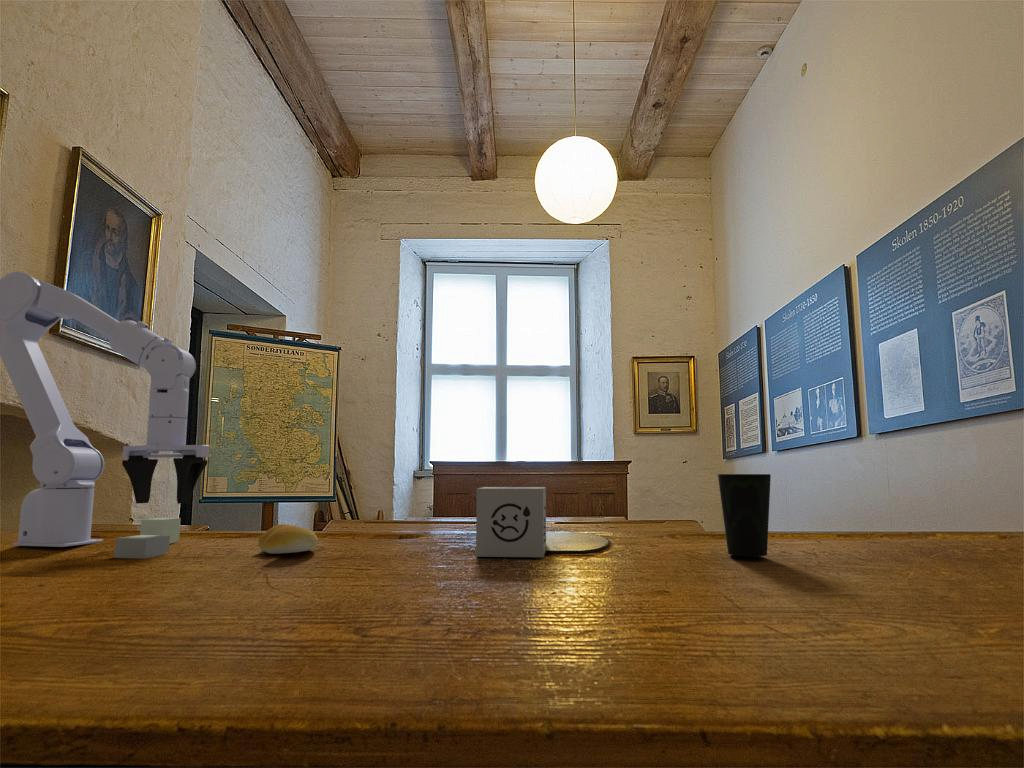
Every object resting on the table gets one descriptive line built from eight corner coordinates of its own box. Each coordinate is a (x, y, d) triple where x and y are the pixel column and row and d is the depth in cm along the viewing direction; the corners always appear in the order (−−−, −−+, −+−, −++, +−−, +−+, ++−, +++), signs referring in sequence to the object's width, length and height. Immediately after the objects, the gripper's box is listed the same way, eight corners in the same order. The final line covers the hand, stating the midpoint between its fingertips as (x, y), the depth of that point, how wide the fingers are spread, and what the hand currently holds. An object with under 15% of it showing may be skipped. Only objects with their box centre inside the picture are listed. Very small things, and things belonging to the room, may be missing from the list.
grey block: (114, 559, 99) (115, 537, 99) (139, 555, 103) (140, 534, 104) (144, 560, 98) (146, 538, 98) (168, 556, 102) (169, 535, 103)
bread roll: (273, 555, 97) (272, 527, 98) (252, 552, 104) (252, 526, 105) (327, 549, 102) (327, 522, 103) (304, 546, 109) (304, 521, 110)
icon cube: (546, 549, 110) (545, 487, 111) (543, 557, 100) (542, 488, 101) (484, 549, 111) (485, 487, 112) (476, 556, 101) (476, 488, 102)
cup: (773, 552, 105) (769, 474, 107) (775, 558, 98) (771, 474, 100) (721, 550, 108) (718, 474, 109) (719, 556, 100) (716, 474, 102)
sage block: (138, 551, 106) (141, 519, 107) (157, 549, 110) (159, 517, 111) (161, 552, 106) (163, 519, 106) (178, 549, 109) (180, 518, 110)
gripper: (110, 417, 108) (104, 504, 107) (190, 415, 105) (185, 504, 104) (143, 421, 115) (137, 502, 113) (219, 419, 112) (214, 502, 110)
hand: (162, 503), depth 109 cm, fingers open, 7 cm apart
